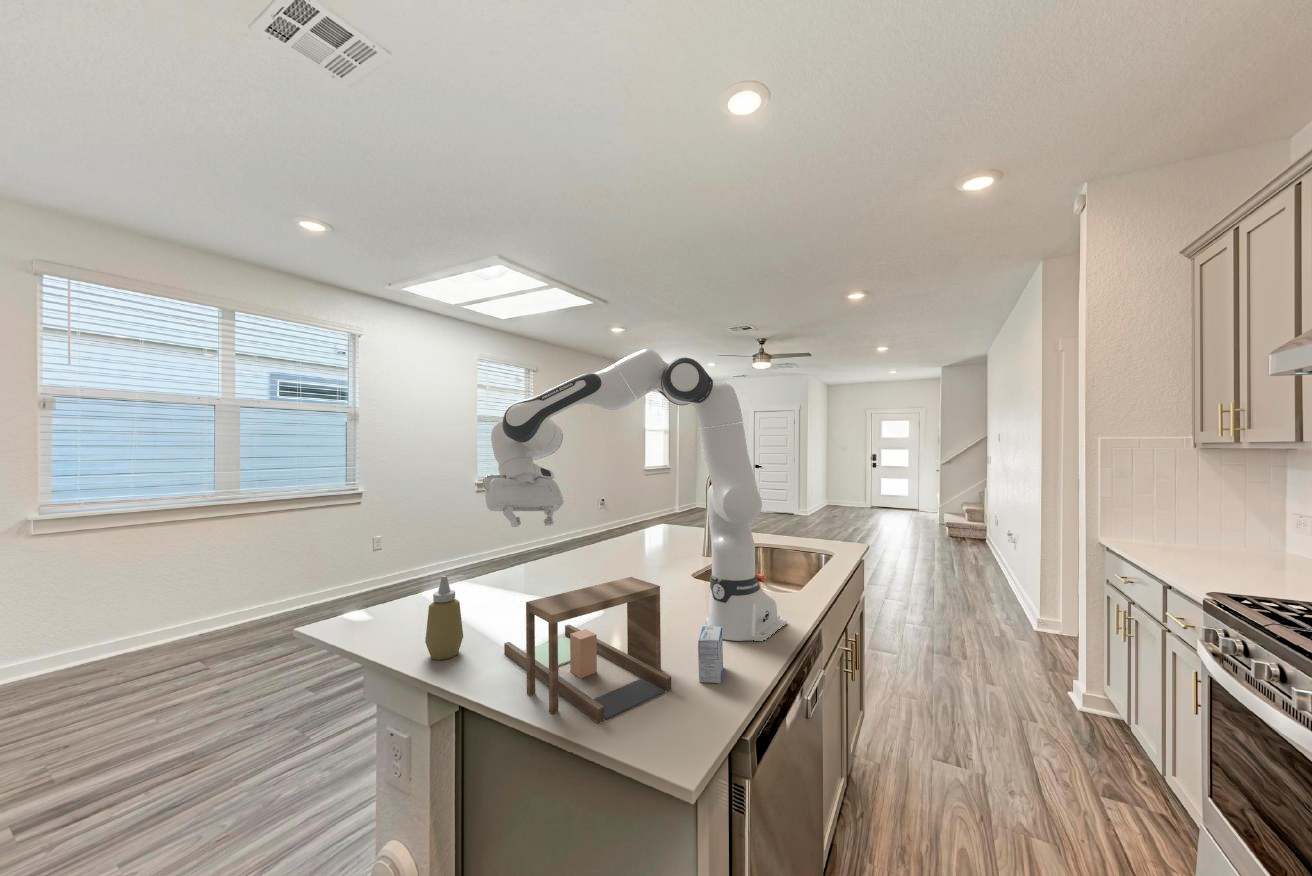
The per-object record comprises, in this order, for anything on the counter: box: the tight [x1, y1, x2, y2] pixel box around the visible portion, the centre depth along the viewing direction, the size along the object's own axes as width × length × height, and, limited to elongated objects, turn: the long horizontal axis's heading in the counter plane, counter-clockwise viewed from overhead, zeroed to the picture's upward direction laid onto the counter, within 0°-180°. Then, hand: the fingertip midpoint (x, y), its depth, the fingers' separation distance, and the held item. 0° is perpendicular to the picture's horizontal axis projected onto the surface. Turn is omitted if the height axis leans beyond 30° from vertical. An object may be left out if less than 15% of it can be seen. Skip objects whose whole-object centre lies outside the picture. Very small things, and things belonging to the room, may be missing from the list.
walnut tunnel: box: [503, 576, 672, 724], centre depth 103 cm, size 26×38×18 cm
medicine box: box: [697, 625, 724, 684], centre depth 101 cm, size 8×4×9 cm, turn 168°
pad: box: [522, 636, 570, 668], centre depth 112 cm, size 13×12×1 cm
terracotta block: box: [569, 628, 598, 679], centre depth 103 cm, size 4×4×8 cm
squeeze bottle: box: [424, 575, 464, 661], centre depth 112 cm, size 8×8×18 cm
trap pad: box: [593, 677, 666, 721], centre depth 92 cm, size 14×7×1 cm, turn 131°
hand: (533, 525), depth 116 cm, fingers open, 8 cm apart
